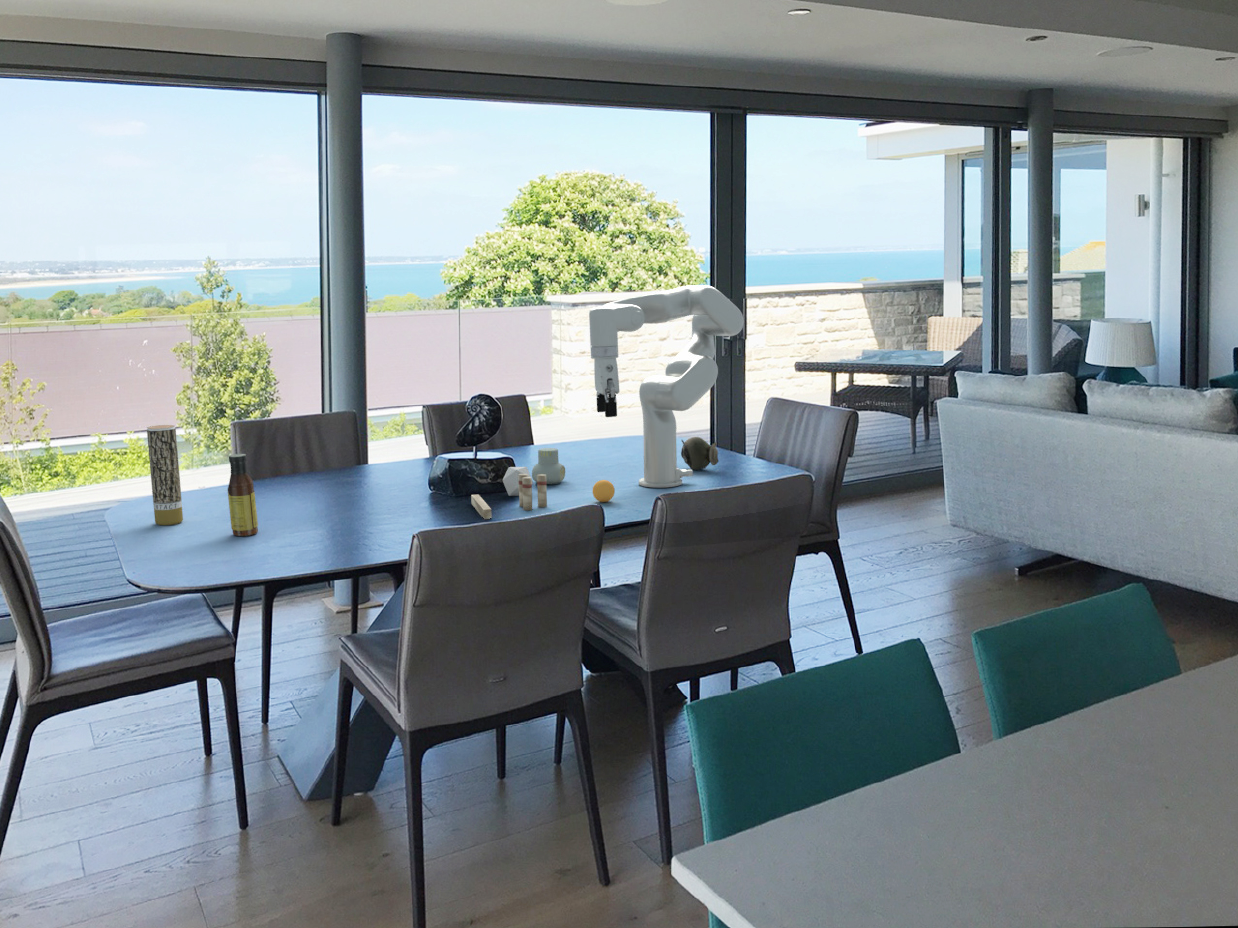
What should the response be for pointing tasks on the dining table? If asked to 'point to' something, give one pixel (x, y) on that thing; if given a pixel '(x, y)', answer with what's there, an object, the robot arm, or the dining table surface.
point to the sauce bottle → (241, 498)
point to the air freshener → (549, 466)
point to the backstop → (481, 506)
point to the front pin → (542, 490)
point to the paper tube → (165, 474)
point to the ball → (603, 490)
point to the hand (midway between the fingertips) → (607, 414)
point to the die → (514, 479)
